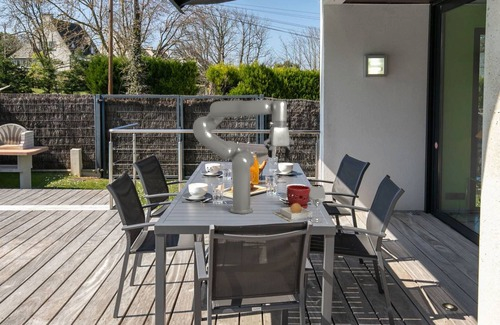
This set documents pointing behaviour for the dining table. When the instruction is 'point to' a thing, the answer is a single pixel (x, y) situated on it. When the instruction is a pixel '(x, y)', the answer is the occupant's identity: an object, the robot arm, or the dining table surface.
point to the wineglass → (317, 198)
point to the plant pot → (298, 195)
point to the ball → (296, 208)
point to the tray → (292, 216)
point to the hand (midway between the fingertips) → (278, 157)
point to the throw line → (283, 217)
